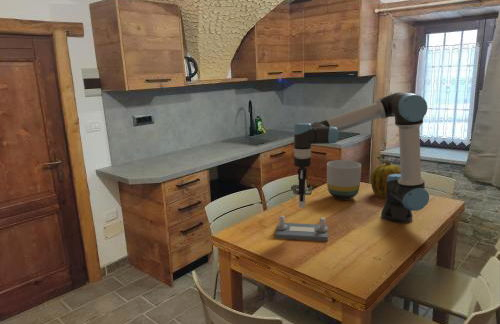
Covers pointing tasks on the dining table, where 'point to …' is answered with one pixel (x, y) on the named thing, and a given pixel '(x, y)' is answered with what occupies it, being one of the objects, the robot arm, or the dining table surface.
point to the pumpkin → (382, 176)
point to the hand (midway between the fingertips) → (301, 205)
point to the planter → (343, 178)
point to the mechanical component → (298, 190)
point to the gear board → (302, 230)
